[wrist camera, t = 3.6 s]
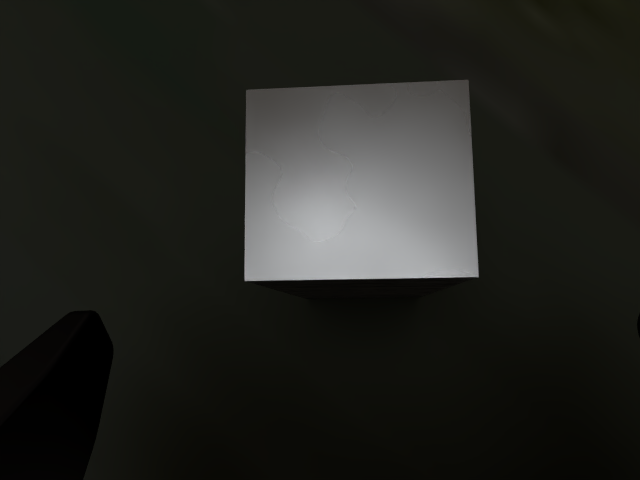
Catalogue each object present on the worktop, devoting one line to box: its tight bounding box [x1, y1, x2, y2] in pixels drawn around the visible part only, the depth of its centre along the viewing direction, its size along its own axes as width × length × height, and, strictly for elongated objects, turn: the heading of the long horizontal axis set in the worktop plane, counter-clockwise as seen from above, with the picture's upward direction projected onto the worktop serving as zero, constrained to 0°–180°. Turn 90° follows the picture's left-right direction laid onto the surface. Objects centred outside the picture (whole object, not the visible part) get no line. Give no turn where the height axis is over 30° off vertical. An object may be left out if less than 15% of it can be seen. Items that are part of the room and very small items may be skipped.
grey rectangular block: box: [245, 80, 479, 299], centre depth 15 cm, size 4×4×10 cm
